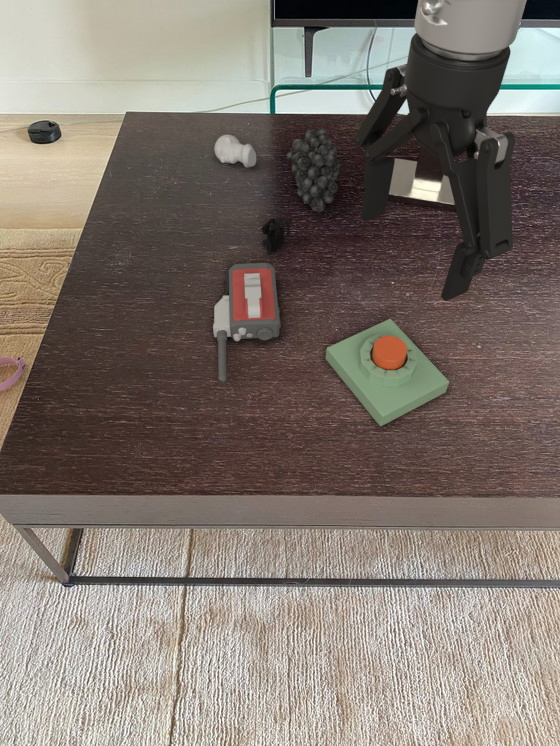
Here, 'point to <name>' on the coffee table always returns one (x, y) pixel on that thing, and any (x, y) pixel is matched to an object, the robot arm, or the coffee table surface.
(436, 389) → the switch box
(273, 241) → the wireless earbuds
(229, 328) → the walkie-talkie
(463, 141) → the robot arm
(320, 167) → the fruit
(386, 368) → the switch button
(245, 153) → the smooth white sculpture
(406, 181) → the switch bracket
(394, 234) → the coffee table surface
